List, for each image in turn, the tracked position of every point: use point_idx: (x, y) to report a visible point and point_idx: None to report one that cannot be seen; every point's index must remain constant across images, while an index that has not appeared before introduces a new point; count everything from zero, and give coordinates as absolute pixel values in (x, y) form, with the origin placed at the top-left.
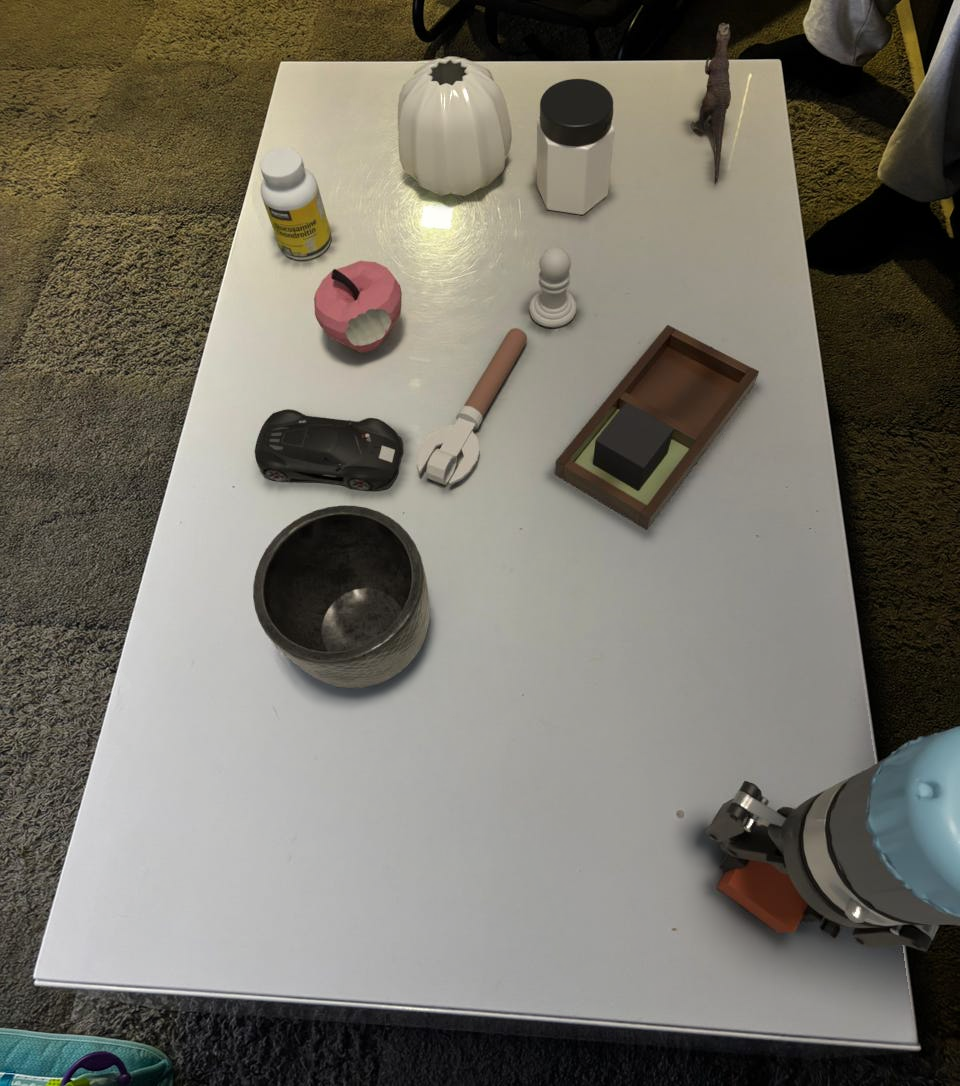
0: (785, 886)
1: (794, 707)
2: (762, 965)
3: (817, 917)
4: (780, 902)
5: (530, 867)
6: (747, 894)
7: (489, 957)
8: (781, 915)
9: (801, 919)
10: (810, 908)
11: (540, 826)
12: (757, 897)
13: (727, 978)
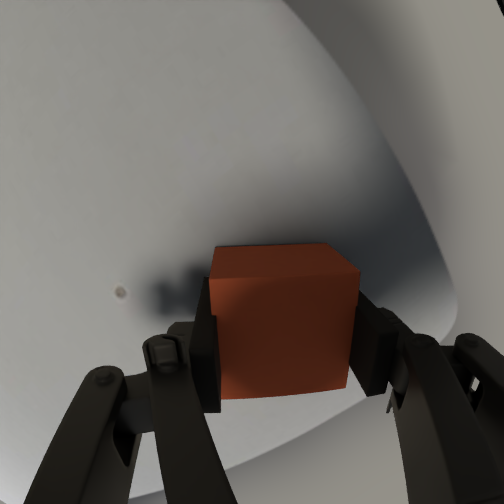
0: (305, 348)
1: (171, 28)
2: None
3: (377, 394)
4: (309, 372)
5: None
6: (256, 394)
7: None
8: (319, 385)
9: None
10: (359, 368)
11: (38, 390)
12: (272, 388)
13: (290, 405)
